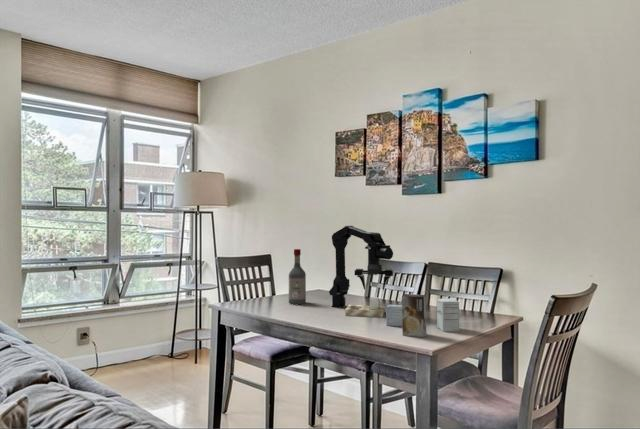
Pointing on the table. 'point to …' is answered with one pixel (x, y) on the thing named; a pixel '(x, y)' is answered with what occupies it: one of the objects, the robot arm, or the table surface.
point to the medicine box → (394, 315)
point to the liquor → (297, 281)
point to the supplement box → (448, 315)
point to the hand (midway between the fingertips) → (373, 289)
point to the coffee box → (414, 315)
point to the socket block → (364, 311)
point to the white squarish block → (373, 302)
